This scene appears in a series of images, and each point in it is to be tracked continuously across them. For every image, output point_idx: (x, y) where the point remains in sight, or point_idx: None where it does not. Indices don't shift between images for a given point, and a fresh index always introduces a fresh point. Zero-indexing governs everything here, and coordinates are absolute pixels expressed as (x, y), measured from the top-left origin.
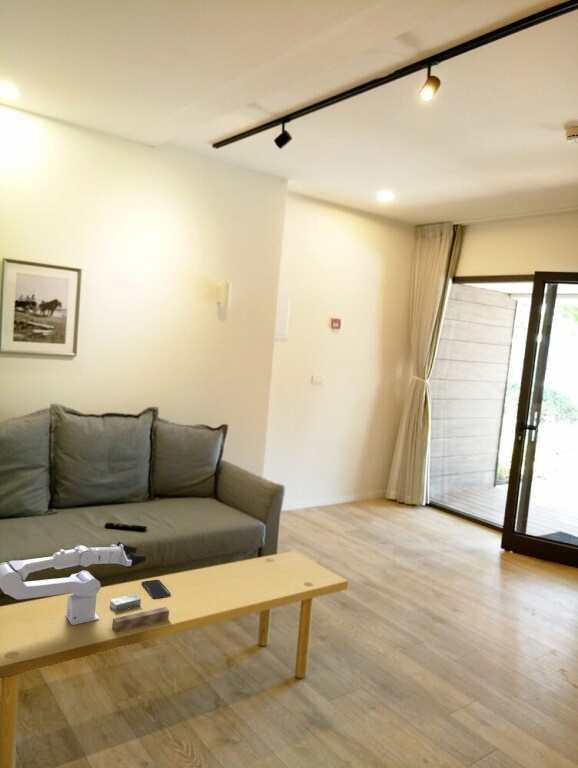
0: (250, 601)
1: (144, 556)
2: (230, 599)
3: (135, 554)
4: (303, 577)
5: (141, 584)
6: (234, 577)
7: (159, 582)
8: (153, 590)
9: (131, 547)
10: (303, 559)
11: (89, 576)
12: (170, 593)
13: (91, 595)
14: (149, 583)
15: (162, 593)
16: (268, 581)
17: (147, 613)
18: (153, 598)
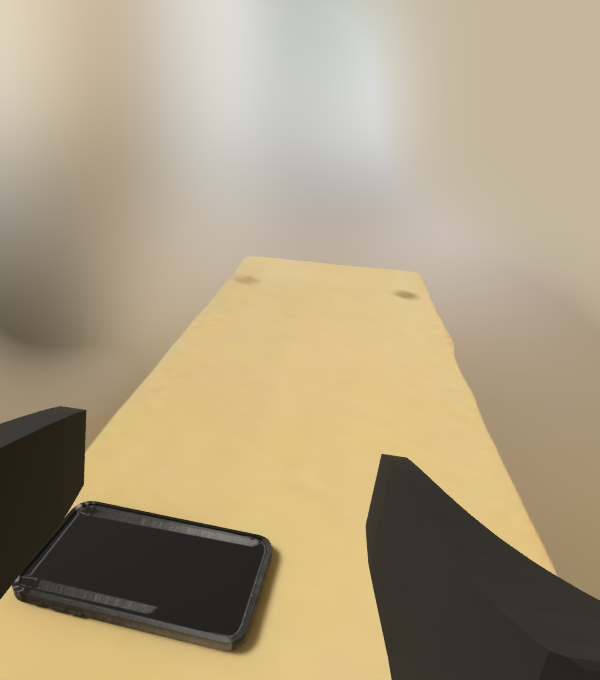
0: (456, 386)
1: (416, 467)
2: (420, 411)
3: (483, 568)
4: (369, 287)
5: (21, 600)
6: (279, 345)
7: (111, 513)
8: (161, 589)
9: (21, 446)
10: (290, 260)
11: None
12: (263, 537)
13: None
14: (69, 558)
15: (231, 569)
16: (352, 320)
17: None
18: (238, 646)
